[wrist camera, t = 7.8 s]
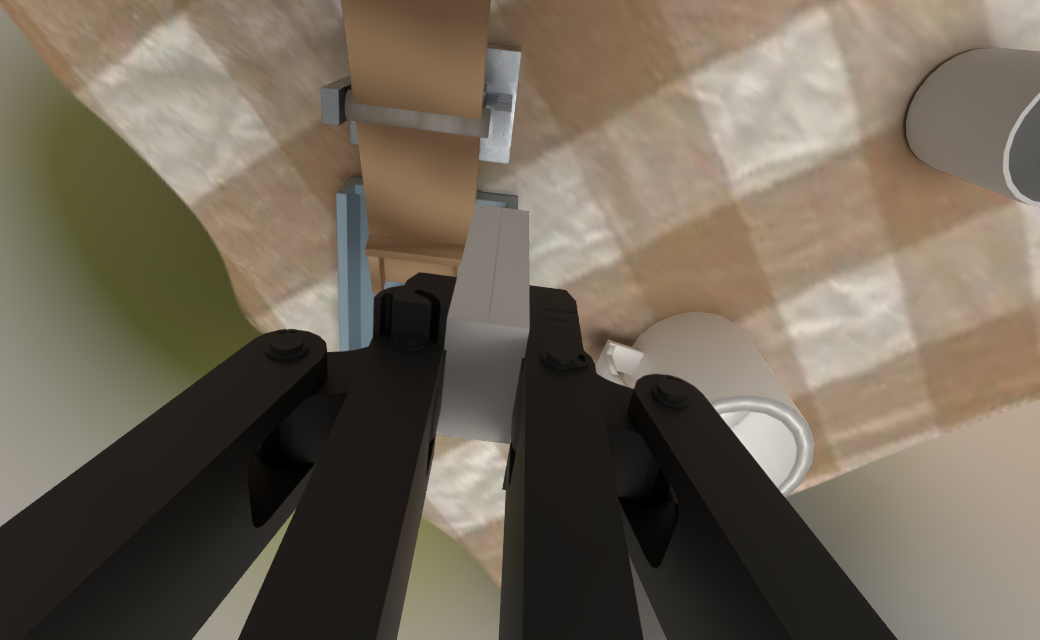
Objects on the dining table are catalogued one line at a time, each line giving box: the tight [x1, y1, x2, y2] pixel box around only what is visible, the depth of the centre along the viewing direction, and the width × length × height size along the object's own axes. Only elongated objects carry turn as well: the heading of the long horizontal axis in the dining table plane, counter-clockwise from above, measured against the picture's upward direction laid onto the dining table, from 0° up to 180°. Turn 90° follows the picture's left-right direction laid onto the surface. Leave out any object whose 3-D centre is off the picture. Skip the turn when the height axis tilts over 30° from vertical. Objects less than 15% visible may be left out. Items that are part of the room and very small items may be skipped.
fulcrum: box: [321, 43, 521, 164], centre depth 32 cm, size 6×9×10 cm, turn 83°
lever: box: [341, 0, 491, 295], centre depth 29 cm, size 24×7×9 cm, turn 173°
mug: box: [595, 311, 815, 498], centre depth 41 cm, size 14×10×11 cm
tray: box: [336, 176, 518, 351], centre depth 41 cm, size 14×11×4 cm
